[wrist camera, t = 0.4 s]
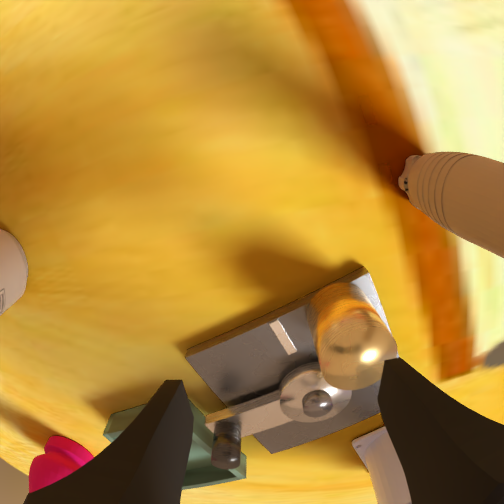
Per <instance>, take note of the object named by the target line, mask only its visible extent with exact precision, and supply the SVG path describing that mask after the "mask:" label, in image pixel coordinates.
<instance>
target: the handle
mask: <svg viewBox="0 0 504 504" xmlns="http://www.w3.org/2000/svg"><path fill="white" fill-rule="evenodd" d="M405 162H406V164H405V169H404V171H403V173H402V175H401V176H399V178H398V184H399V187H400V188H401V189H402V190H404V191H405V192H406V193H407V195H408V197H409V201H410V203H411V204H412V205H413V206H415V207H416V208H418V209H419V210H421V211H422V212H423V213H424V214H426V215H427V216H428V217H429V218H431V219H432V220H433V221H435V222H436V223H438V224H439V225H440V226H442V227H444V228H445V229H447V230H449V231H450V232H452V233H454V234H456V235H457V236H459V237H461V238H463V239H465V240H467V241H469V242H471V243H474V244H476V245H478V246H480V247H482V248H484V249H486V250H488V251H490V252H492V253H494V254H496V255H498V256H500V257H502V258H504V163H502V162H499V161H496V160H492V159H489V158H486V157H482V156H478V155H473V154H468V153H460V152H436V153H429V154H424V155H423V156H419V155H412V156H409V157H408V158H407V159H406V161H405Z"/></svg>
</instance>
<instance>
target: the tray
mask: <svg viewBox="0 0 504 504" xmlns="http://www.w3.org/2000/svg"><path fill="white" fill-rule="evenodd" d="M188 401H189V404H190V407H191V410H192V413H193V416H194V423H193V436H192V444H191V449H190V453H189V458H188V463H187V467H186V472H185V477H184V481H183V486H182V490H184V489H191V488H198V487H204V486H210V485H215V484H221V483H226V482H231V481H235V480H240V479H244V478H246V456H245V455H244V454H243V453H242V452H241V460H240V466H239V467H237V468H235V469H229V470H226V469H220V468H217V467H215V466H213V465H212V463H211V455H212V445H213V436H214V433H213V432H212V431H211V430H209V429H208V428H207V427H206V426H205V418H206V417H205V416H204V415H203V414H202V413H201V412H200V411H199V410H198V409H197V408H196V407H195V406H194V405H193V404H192V403H191V401H190V400H189V399H188ZM145 406H146V404H145V405H141V406H138V407H135V408H131V409H128V410H124V411H121V412H117V413H114V414H111V416H110V418H109V421H108V423H107V425H106V428H105V430H104V433H103V436H105V437H106V438H107V439H108V440H109V441H110V442H111V443H112V442H113V441H114V440H115V439H116V438H117V437H118V436H119V435H120V434H121V433H122V432H123V431H124V430H125V429H126V428H127V427H128V426H129V424H130V423H131V422H132V421H133V420H134V419H135V418H136V416H137V415H138V414H139V413H140V412H141V411H142V409H143V408H144V407H145Z"/></svg>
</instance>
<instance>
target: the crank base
mask: <svg viewBox="0 0 504 504" xmlns="http://www.w3.org/2000/svg"><path fill="white" fill-rule="evenodd" d="M342 282H343V283H351V284H353V285H356V286H358V287H359V288H360V289H361V290H362V291H363V292H364V293H365V295H366V296H367V298H368V299H369V301H370V302H371V304H372V305H373V307H374V308H375V310H376V311H377V313H378V314H379V316H380V317H381V319H382V321H383V322H384V324H385V325H386V327H387V328H388V330H389V331H390V328H389V325H388V322H387V319H386V317H385V314H384V311H383V308H382V305H381V303H380V300H379V297H378V295H377V292H376V289H375V287H374V284H373V282H372V279H371V276H370V274H369V272H368V271H367V270H366V268H365V267H362V268H360V269H358V270H356V271H354V272H352V273H350V274H348V275H346V276H344V277H342V278H340V279H338V280H336V281H334V282H332V283H330V284H328V285H331V284H334V283H342ZM328 285H326V286H328ZM326 286H324V287H326ZM324 287H322V288H320V289H318V290H316V291H314V292H312V293H310V294H308V295H306V296H304V297H302V298H300V299H298V300H296V301H294V302H292V303H290V304H288V305H285V306H283V307H281V308H279V309H277V310H275V311H273V312H271V313H268V314H266V315H264V316H262V317H260V318H258V319H255V320H253V321H251V322H249V323H247V324H244V325H242V326H240V327H238V328H236V329H233V330H231V331H229V332H227V333H224V334H222V335H220V336H217V337H215V338H213V339H210V340H208V341H206V342H204V343H201V344H199V345H196V346H194V347H192V348H189V349H187V353H186V357H185V358H186V360H187V361H188V362H189V363H190V365H191V366H192V367H193V368H194V369H195V371H196V372H197V373H198V374H199V375H200V377H201V378H202V379H203V380H204V381H205V382H206V384H207V385H208V386H209V387H210V388H211V389H212V391H213V392H214V393H215V394H216V395H217V396H218V397H219V399H220V400H221V401H222V402H223V403H224V404H225V405H226V406H227V408H229V407H232V406H235V405H238V404H241V403H244V402H247V401H250V400H252V399H255V398H258V397H261V396H263V395H266V394H269V393H271V392H274V391H276V390H279V386H280V383H281V381H282V379H283V378H284V377H285V376H286V375H287V374H288V373H289V372H290V371H292V370H293V369H295V368H297V367H299V366H301V365H304V364H308V363H312V362H319V361H318V357H317V353H316V350H315V346H314V343H313V339H312V335H311V332H310V328H309V325H308V321H307V308H308V305H309V303H310V301H311V299H312V298H313V297H314V295H315V294H316V293H317V292H319V291H320V290H321V289H323V288H324ZM390 333H391V331H390ZM391 335H392V334H391ZM398 357H399V355H398V352H397V356H396V358H398ZM380 382H381V379H380V380H379V381H377V382H375V383H374V384H372V385H370V386H367V387H365V388H362V389H357V390H352V395H351V399H350V401H349V403H348V404H347V406H346V407H345V408H344V409H343V410H342V411H341V412H339V413H338V414H336V415H335V416H333V417H331V418H329V419H326V420H323V421H318V422H299V421H295V420H293V421H290V422H287V423H284V424H282V425H279V426H276V427H273V428H270V429H267V430H264V431H261V432H258V433H254V434H253V435H254V437H255V438H256V439H257V440H258V441H259V442H260V443H261V444H262V445H263V446H264V447H265V448H266V449H267V450H268V451H269V452H270V453H271V454H273V453H276V452H280V451H283V450H286V449H289V448H292V447H295V446H298V445H301V444H304V443H307V442H310V441H312V440H315V439H318V438H321V437H323V436H326V435H328V434H331V433H334V432H336V431H339V430H341V429H344V428H346V427H348V426H351V425H353V424H355V423H358V422H360V421H362V420H365V419H367V418H369V417H371V416H373V415H376V414H378V413H380V408H379V404H378V401H377V397H378V393H379V388H380Z"/></svg>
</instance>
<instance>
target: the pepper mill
mask: <svg viewBox="0 0 504 504" xmlns="http://www.w3.org/2000/svg"><path fill="white" fill-rule="evenodd" d="M44 451H45V453H46V454H42V455H39V456H37V457H35V458H34V459H33V461H32V464H31V466H30V471H29V493H31V492H34V491H36V490H39V489H41V488H43V487H46V486H48V485H50V484H52V483H54V482H57V481H58V480H60V479H62V478H64V477H66V476H68V475H69V474H71V473H73V472H74V471H76V470H77V469H79V468H80V467H82V466H83V465H85V464H86V463H87V462H89V461H90V460H92V459H93V458H94V457H93V455H92V454H91V453H90V452H89V451H87V450H86V449H85V448H84V447H82V446H81V445H79V444H78V443H76V442H74V441H72V440H70V439H67V438H65V437H61V436H52V437H50V438H49V440H48V442H47V444H46V445H45V447H44Z"/></svg>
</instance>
